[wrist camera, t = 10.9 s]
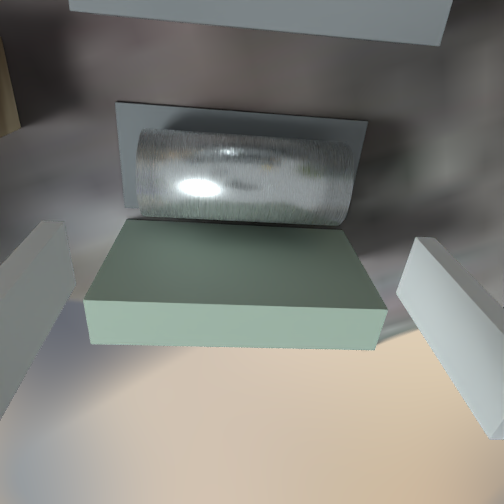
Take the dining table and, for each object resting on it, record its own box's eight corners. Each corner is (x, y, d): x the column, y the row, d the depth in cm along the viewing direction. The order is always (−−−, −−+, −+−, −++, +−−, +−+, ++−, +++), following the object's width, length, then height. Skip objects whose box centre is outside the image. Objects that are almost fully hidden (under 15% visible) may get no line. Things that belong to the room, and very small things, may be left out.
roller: (150, 120, 24) (132, 140, 19) (336, 133, 25) (360, 155, 20) (154, 197, 26) (139, 231, 22) (323, 206, 27) (341, 240, 23)
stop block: (126, 219, 27) (83, 300, 19) (342, 230, 29) (388, 309, 20) (130, 254, 29) (91, 344, 21) (334, 263, 30) (374, 350, 22)
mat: (115, 101, 23) (115, 102, 23) (367, 121, 25) (368, 121, 24) (125, 206, 27) (124, 207, 27) (345, 218, 28) (345, 219, 28)
